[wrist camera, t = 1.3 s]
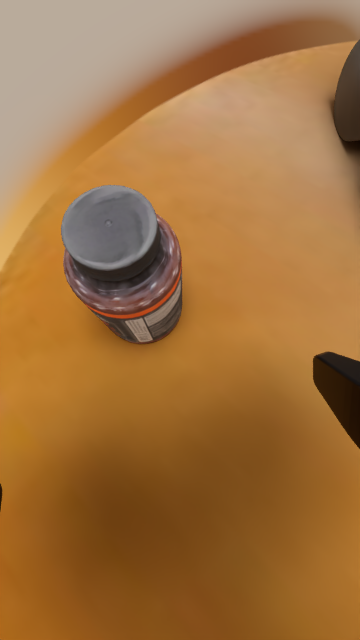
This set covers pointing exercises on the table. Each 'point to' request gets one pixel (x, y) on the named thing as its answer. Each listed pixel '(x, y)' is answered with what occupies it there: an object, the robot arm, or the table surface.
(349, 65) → the trolley
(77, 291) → the supplement bottle
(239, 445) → the table surface
